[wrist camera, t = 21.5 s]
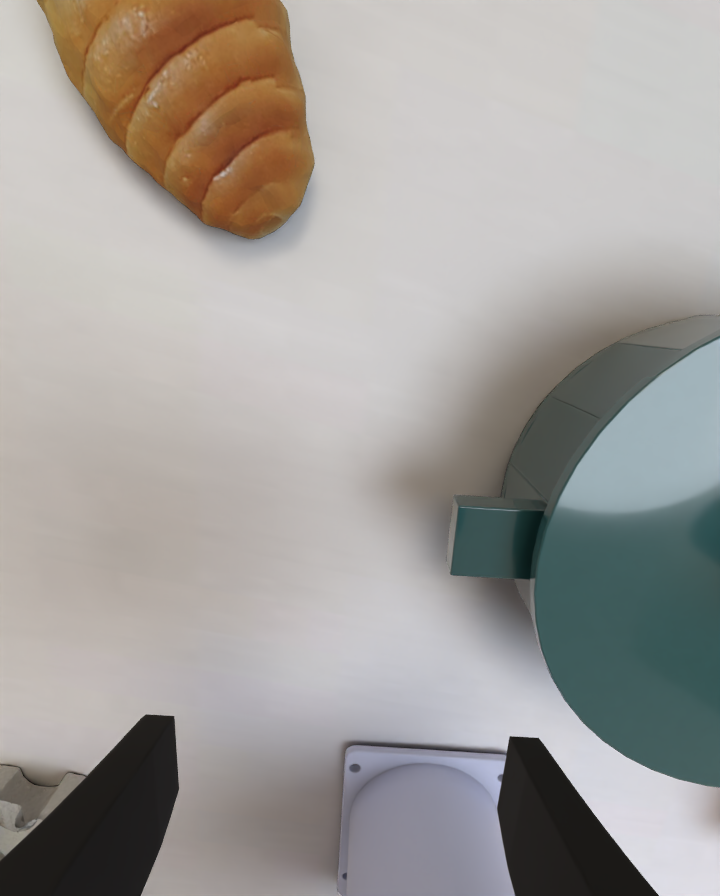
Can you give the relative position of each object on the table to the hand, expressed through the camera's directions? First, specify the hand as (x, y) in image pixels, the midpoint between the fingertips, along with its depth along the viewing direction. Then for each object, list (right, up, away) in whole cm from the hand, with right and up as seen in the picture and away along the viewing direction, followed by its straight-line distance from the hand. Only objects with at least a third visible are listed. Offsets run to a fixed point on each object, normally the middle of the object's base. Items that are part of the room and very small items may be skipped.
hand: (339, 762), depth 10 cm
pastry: (-5, +19, +6) cm, 21 cm away
